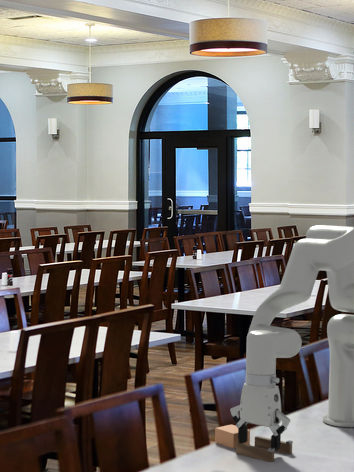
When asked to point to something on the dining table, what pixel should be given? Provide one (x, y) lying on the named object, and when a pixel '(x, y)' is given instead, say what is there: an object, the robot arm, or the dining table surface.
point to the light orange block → (229, 436)
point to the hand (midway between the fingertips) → (258, 446)
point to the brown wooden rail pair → (263, 449)
